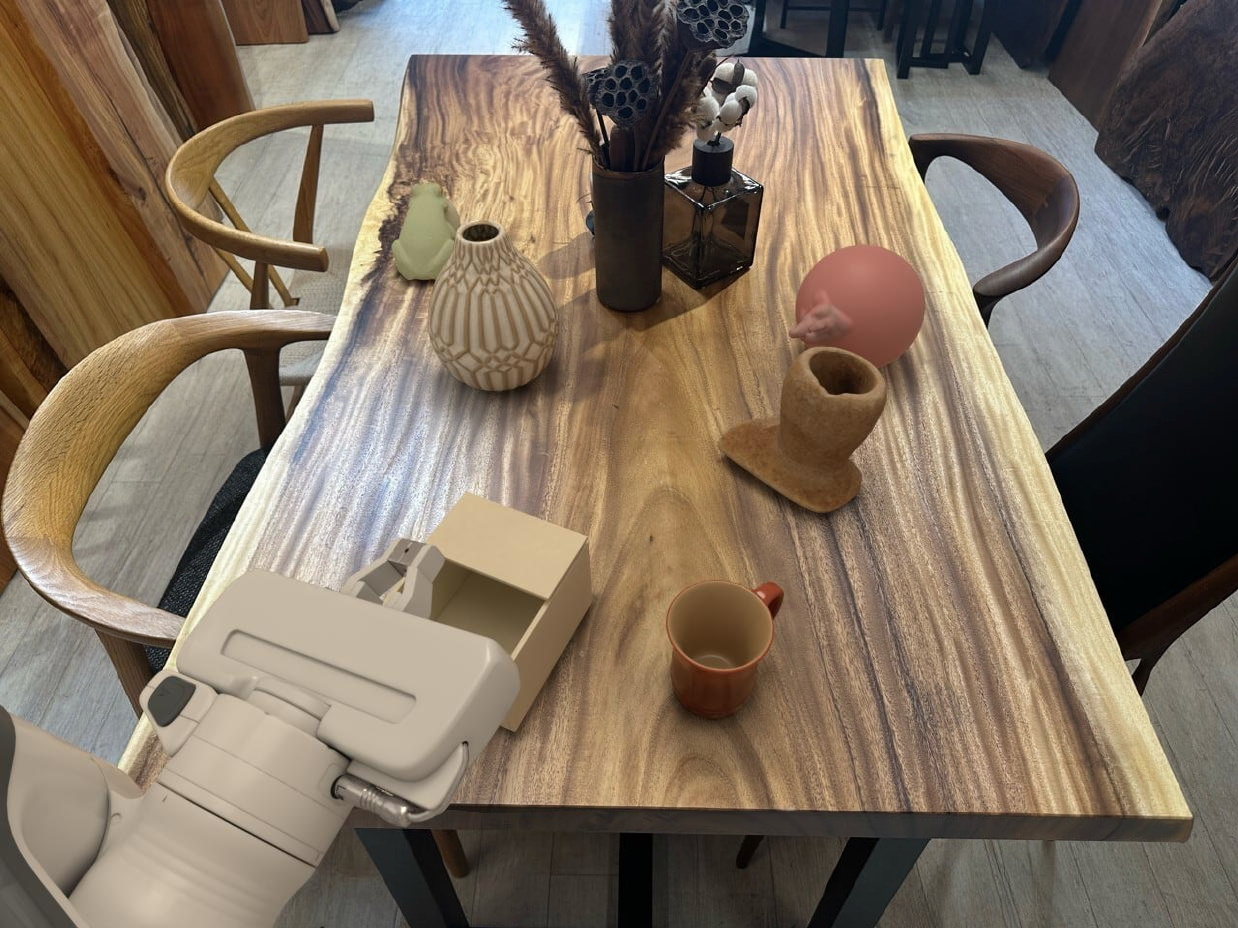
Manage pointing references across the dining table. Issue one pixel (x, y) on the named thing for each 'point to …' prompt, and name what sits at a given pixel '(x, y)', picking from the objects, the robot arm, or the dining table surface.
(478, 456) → the dining table surface
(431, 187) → the figurine
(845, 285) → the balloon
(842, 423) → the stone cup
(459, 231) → the vase
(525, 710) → the carton
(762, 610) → the mug
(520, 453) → the dining table surface
